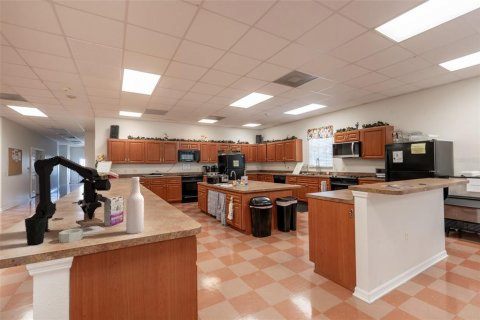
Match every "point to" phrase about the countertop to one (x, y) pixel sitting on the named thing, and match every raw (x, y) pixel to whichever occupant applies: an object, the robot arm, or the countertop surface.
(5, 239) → the countertop surface
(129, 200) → the alcohol
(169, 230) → the countertop surface
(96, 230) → the mat
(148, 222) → the countertop surface
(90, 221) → the lid
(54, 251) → the countertop surface
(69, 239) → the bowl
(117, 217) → the candy bar box
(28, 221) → the cup
